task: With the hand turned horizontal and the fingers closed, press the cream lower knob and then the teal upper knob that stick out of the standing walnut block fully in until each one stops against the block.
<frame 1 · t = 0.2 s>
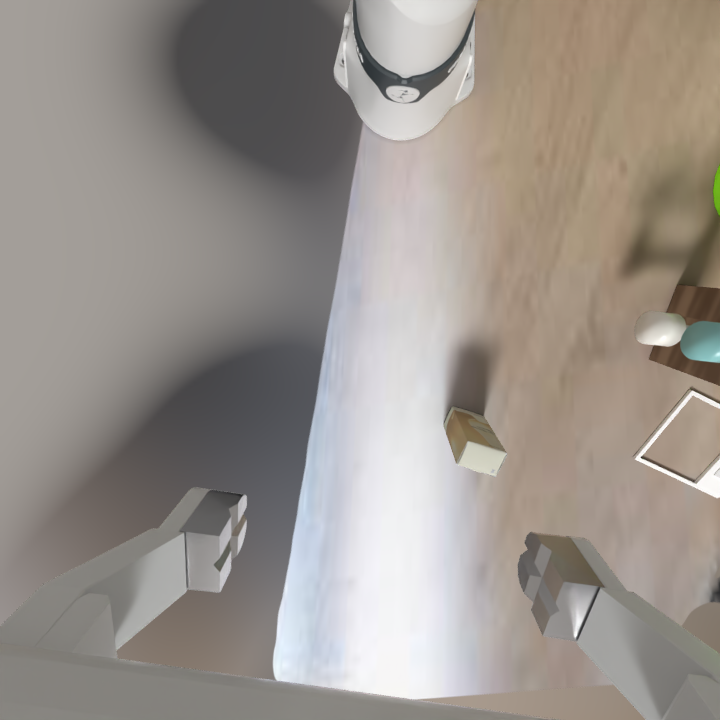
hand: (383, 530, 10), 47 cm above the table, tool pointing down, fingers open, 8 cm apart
knob lower: (695, 333, 45), point 9 cm above the table, slide at 6.0 cm
skincare box: (462, 420, 60), on the table
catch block: (672, 324, 54), on the table
photo frame: (699, 443, 60), on the table
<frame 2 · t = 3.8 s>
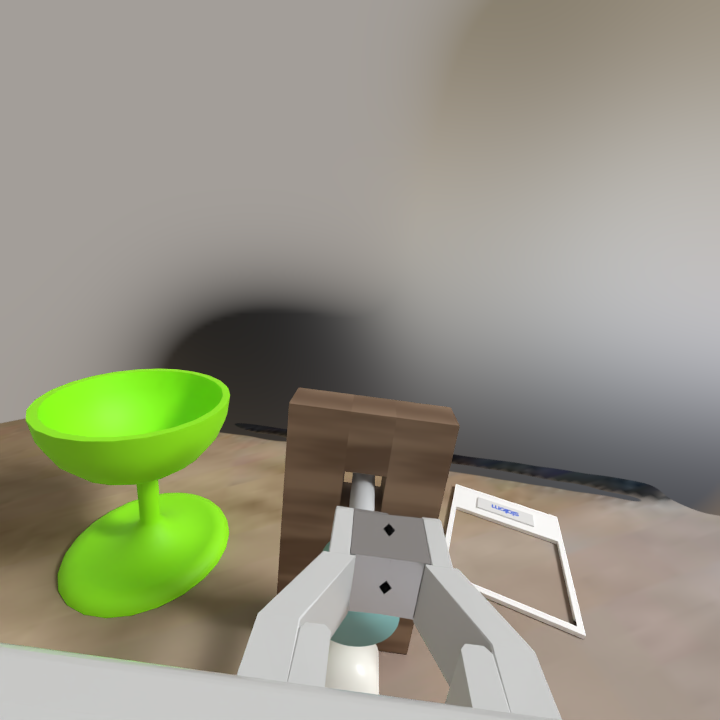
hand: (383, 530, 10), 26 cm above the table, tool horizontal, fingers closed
knob lower: (348, 602, 25), point 9 cm above the table, slide at 6.0 cm
wineglass: (152, 545, 38), on the table
knob upper: (360, 520, 23), point 17 cm above the table, slide at 6.0 cm
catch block: (342, 627, 32), on the table
photo frame: (503, 548, 44), on the table
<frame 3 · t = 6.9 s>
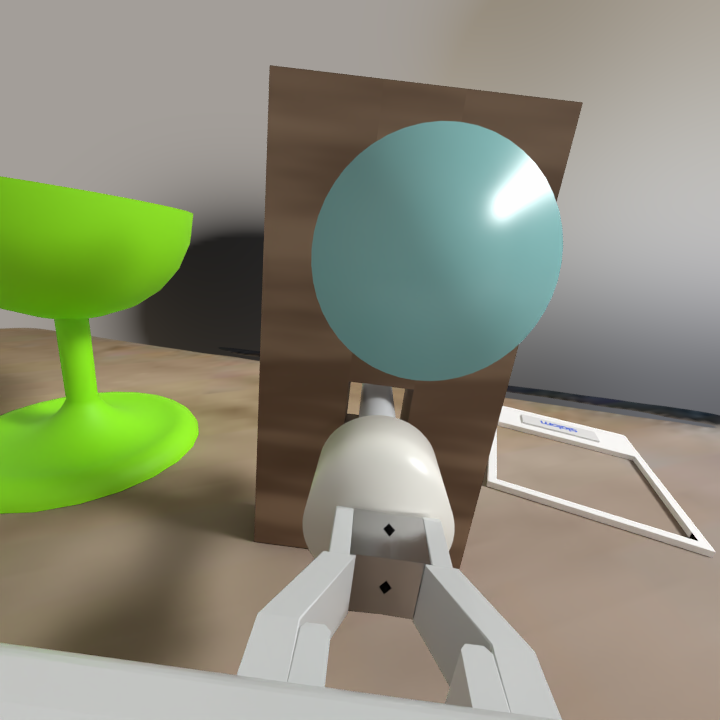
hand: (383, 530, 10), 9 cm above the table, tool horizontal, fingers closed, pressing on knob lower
knob lower: (377, 426, 16), point 9 cm above the table, slide at 4.3 cm, touching gripper
wineglass: (88, 442, 27), on the table
knob upper: (405, 261, 12), point 17 cm above the table, slide at 6.0 cm
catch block: (357, 534, 21), on the table
photo frame: (564, 464, 33), on the table
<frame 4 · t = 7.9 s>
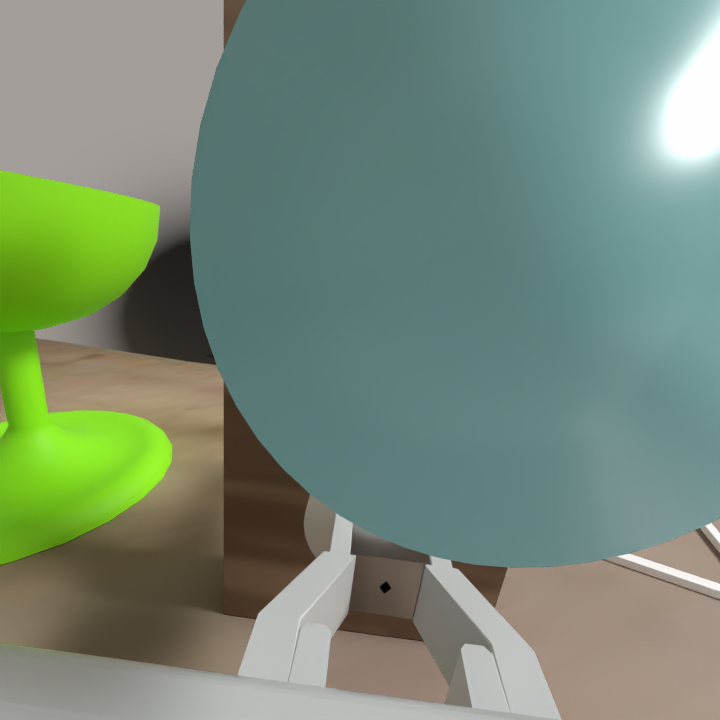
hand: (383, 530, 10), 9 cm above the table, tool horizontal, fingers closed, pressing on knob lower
knob lower: (377, 425, 16), point 9 cm above the table, slide at 0.1 cm, touching gripper
wineglass: (39, 474, 23), on the table
knob upper: (420, 262, 8), point 17 cm above the table, slide at 6.0 cm
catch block: (354, 599, 17), on the table
photo frame: (591, 492, 29), on the table
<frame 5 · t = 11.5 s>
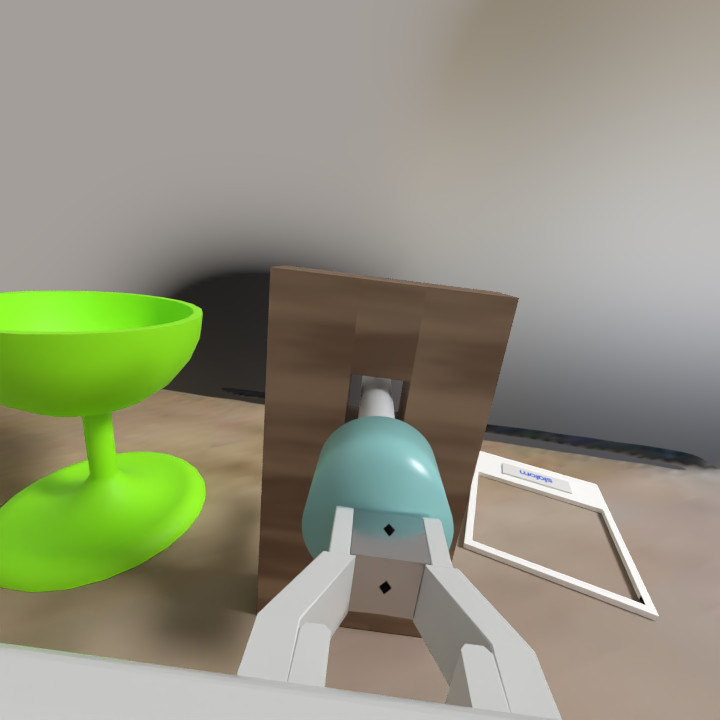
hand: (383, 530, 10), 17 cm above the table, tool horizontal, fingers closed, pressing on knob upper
wineglass: (108, 509, 30), on the table
knob upper: (376, 426, 16), point 16 cm above the table, slide at 5.5 cm, touching gripper
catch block: (346, 605, 24), on the table
photo frame: (538, 517, 37), on the table
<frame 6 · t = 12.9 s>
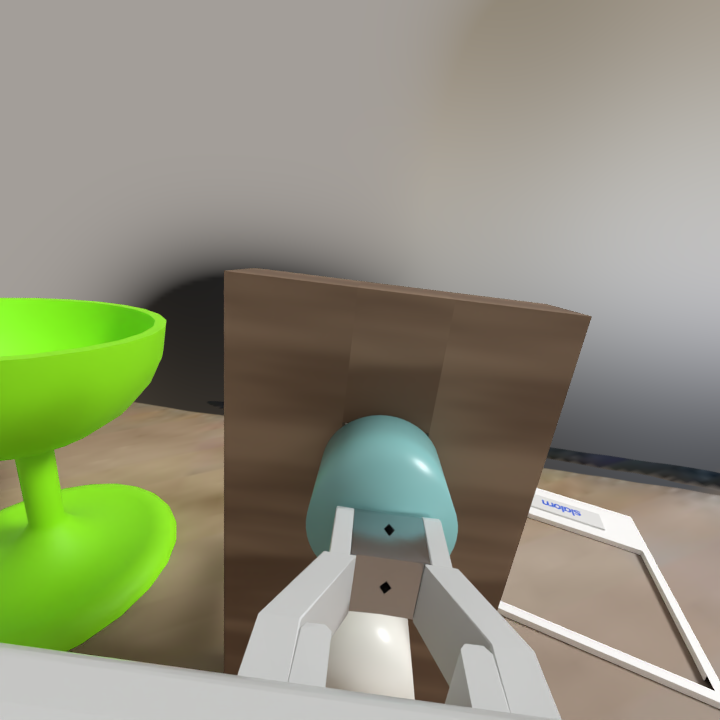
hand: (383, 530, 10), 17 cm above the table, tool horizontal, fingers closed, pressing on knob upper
knob lower: (360, 551, 18), point 9 cm above the table, slide at 0.0 cm
wineglass: (55, 561, 25), on the table
knob upper: (379, 426, 16), point 16 cm above the table, slide at 0.0 cm, touching gripper
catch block: (340, 700, 19), on the table
photo frame: (567, 561, 31), on the table
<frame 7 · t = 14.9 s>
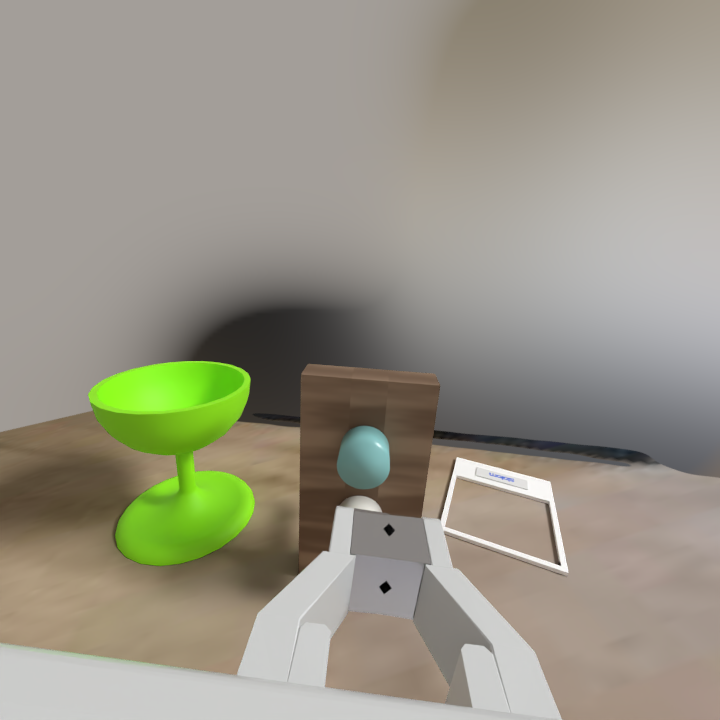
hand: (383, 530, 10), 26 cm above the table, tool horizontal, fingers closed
knob lower: (361, 491, 36), point 9 cm above the table, slide at 0.0 cm
wineglass: (190, 513, 44), on the table
knob upper: (366, 429, 34), point 17 cm above the table, slide at 0.0 cm
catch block: (355, 569, 37), on the table
photo frame: (499, 509, 49), on the table
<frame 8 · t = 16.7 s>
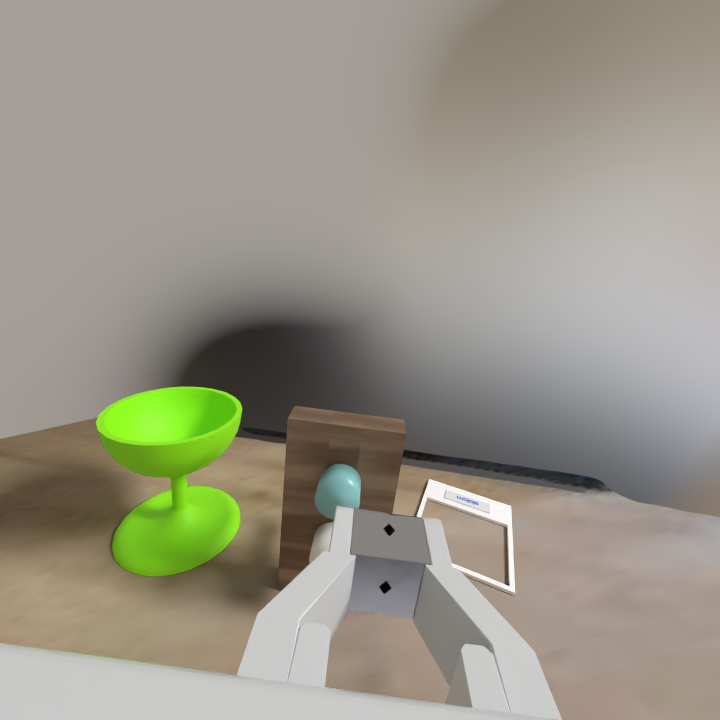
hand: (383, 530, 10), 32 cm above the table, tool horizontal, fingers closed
knob lower: (337, 516, 41), point 9 cm above the table, slide at 0.0 cm
wineglass: (181, 526, 48), on the table
knob upper: (343, 463, 39), point 16 cm above the table, slide at 0.0 cm
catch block: (328, 584, 42), on the table
photo frame: (462, 530, 54), on the table
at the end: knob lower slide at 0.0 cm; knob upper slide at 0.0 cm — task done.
